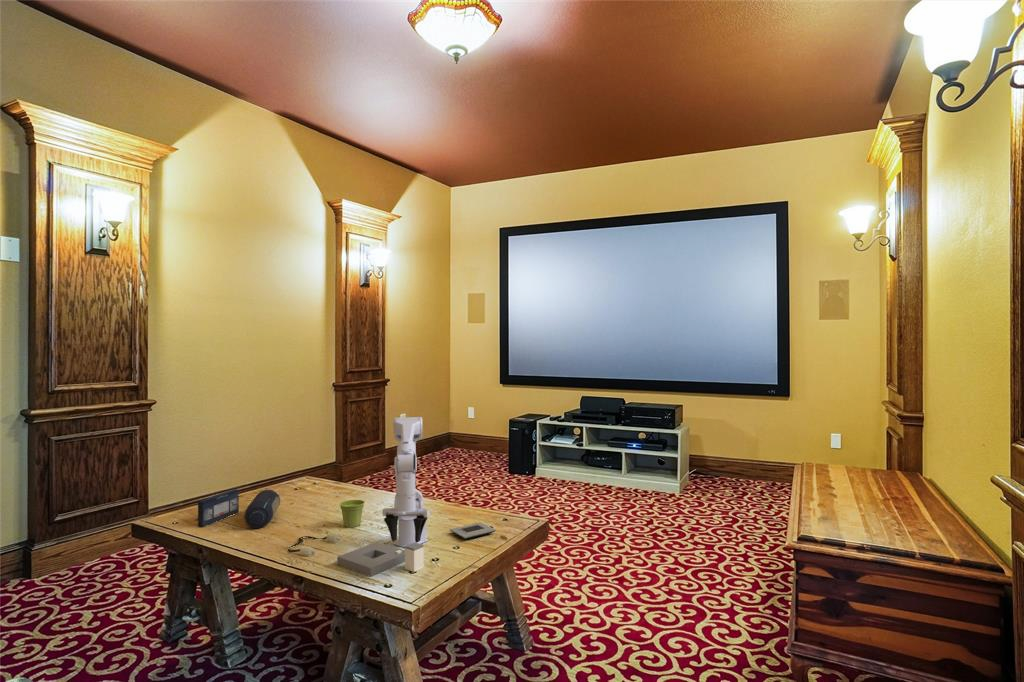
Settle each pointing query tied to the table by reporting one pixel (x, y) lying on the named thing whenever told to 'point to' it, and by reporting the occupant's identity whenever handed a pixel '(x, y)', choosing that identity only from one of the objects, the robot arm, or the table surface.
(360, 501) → the plant pot
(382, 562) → the socket block
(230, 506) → the vhs cassette tape
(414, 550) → the plug
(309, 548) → the cable
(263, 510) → the portable speaker
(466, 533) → the electrical outlet
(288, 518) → the table surface
